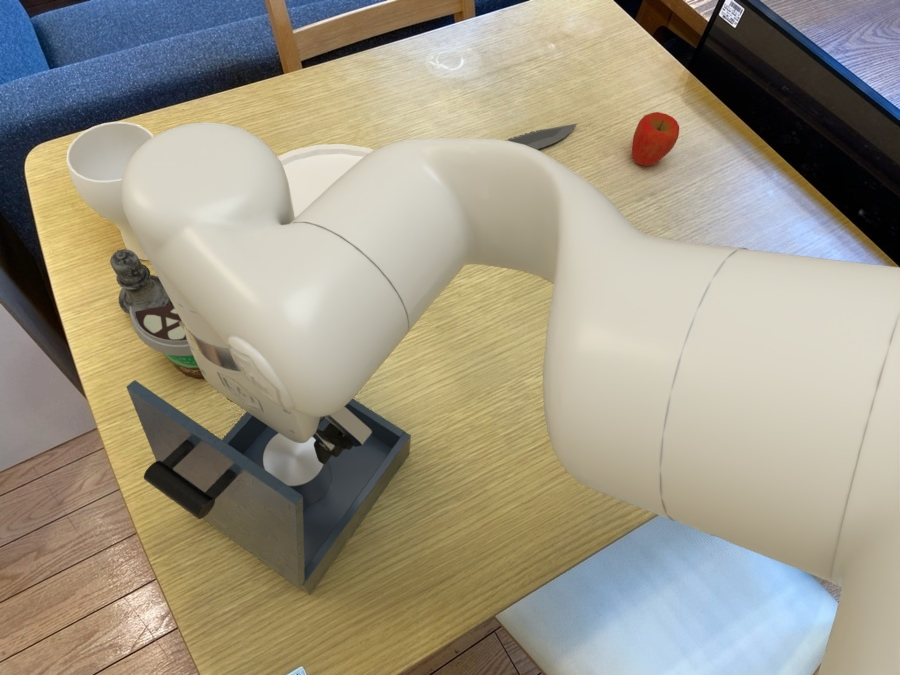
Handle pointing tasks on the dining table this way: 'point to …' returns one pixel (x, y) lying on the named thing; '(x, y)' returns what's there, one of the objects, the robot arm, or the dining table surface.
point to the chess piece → (137, 283)
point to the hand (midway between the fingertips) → (287, 417)
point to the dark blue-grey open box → (335, 483)
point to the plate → (317, 170)
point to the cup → (106, 171)
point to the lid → (222, 486)
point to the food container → (166, 337)
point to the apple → (654, 138)
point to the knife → (543, 136)
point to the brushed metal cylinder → (298, 467)
